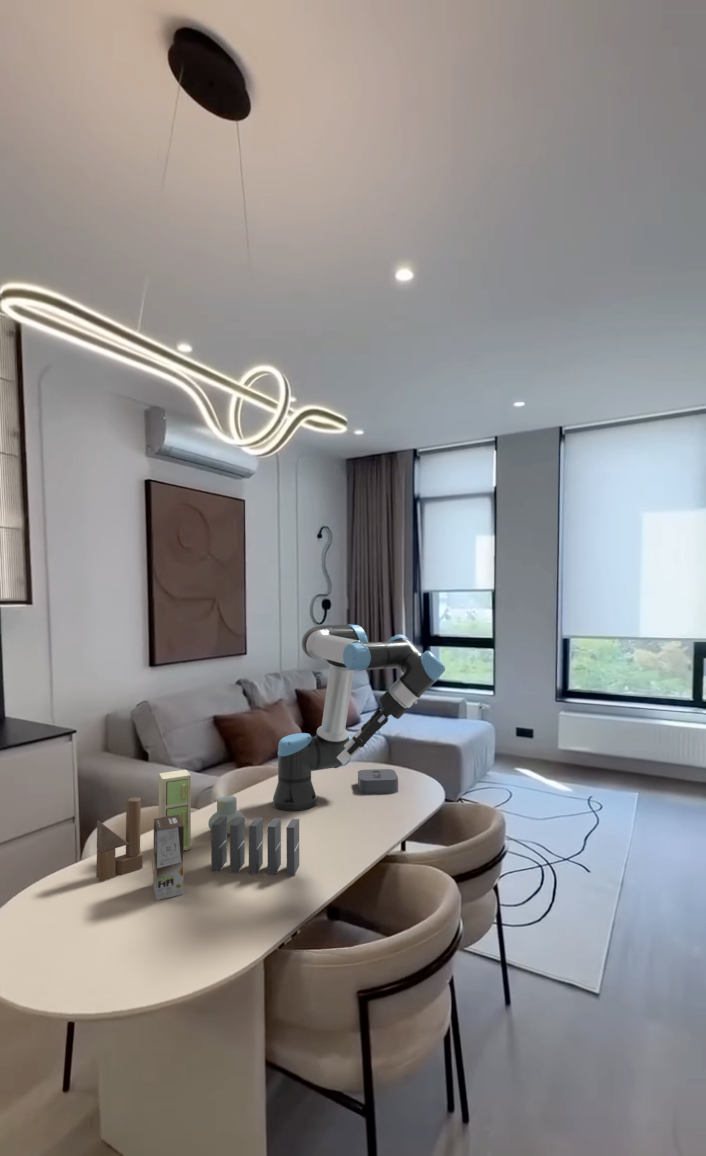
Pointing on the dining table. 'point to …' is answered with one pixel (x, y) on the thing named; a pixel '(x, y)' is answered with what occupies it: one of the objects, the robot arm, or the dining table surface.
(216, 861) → the domino
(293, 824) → the domino
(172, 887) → the coffee box
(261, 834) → the domino
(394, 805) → the dining table surface
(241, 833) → the domino
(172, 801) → the toy refrigerator
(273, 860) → the domino
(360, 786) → the streaming box
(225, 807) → the air freshener
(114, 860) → the brown angular blocky piece
